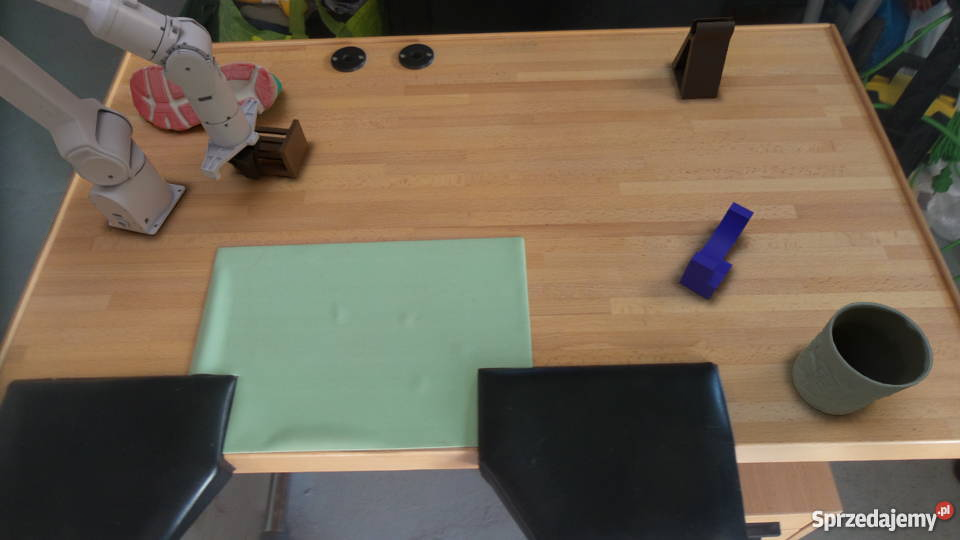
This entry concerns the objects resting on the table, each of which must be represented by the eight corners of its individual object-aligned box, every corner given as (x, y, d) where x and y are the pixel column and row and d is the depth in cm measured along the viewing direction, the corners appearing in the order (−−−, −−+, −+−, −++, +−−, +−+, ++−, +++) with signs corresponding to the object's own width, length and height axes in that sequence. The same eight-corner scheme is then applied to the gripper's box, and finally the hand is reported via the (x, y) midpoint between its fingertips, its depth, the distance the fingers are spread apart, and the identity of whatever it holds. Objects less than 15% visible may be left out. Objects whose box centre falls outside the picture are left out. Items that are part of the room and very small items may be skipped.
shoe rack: (295, 178, 91) (283, 151, 86) (236, 172, 92) (221, 145, 87) (309, 146, 94) (298, 119, 89) (252, 141, 95) (238, 113, 90)
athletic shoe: (300, 102, 102) (274, 32, 98) (280, 107, 93) (251, 30, 89) (170, 140, 106) (140, 75, 102) (139, 148, 97) (105, 77, 93)
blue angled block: (708, 300, 77) (723, 277, 72) (679, 282, 79) (691, 258, 74) (748, 243, 82) (764, 217, 77) (719, 227, 83) (733, 201, 78)
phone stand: (671, 65, 103) (690, 3, 93) (704, 64, 103) (727, 2, 93) (681, 99, 98) (702, 38, 88) (716, 98, 98) (741, 37, 88)
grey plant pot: (885, 386, 70) (951, 345, 60) (841, 440, 67) (903, 407, 57) (811, 330, 74) (861, 284, 64) (766, 379, 71) (811, 338, 61)
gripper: (218, 152, 74) (256, 215, 85) (267, 79, 81) (296, 147, 93) (170, 143, 75) (214, 207, 87) (223, 72, 82) (257, 140, 94)
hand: (254, 175), depth 90 cm, fingers closed
